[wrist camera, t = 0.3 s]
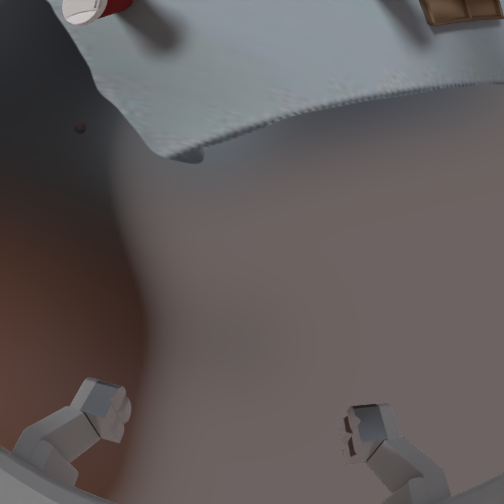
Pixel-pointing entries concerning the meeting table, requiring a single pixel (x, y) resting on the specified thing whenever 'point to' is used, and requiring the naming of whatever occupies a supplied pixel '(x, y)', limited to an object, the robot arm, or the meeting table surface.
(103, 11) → the paper cup
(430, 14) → the organizer
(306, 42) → the meeting table surface
